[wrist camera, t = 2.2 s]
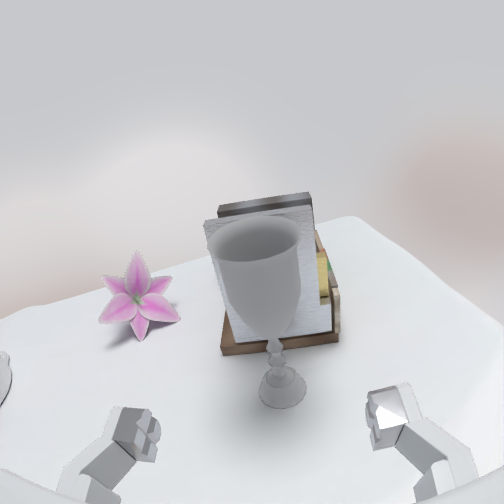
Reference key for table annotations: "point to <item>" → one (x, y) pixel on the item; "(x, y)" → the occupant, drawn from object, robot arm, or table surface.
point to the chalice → (264, 291)
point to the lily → (138, 298)
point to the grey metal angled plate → (309, 305)
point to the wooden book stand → (304, 198)
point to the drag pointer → (322, 274)
